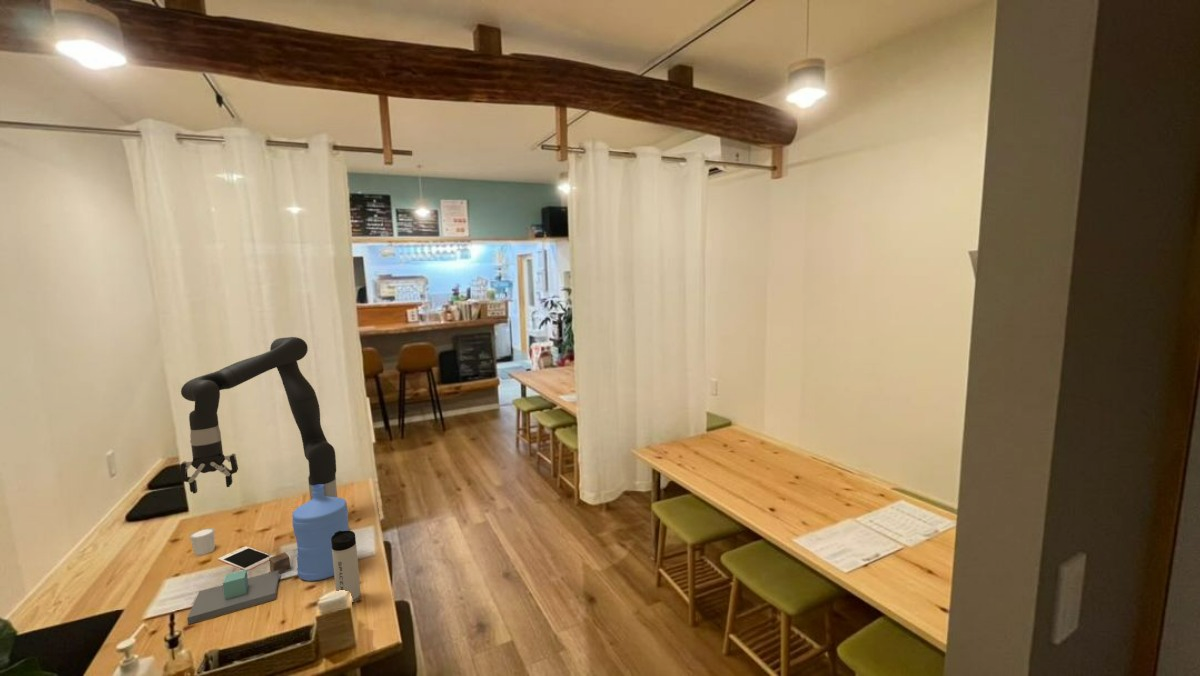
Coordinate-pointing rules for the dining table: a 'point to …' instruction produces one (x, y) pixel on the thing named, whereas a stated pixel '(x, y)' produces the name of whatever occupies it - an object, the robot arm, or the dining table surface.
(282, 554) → the walnut block
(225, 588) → the teal cube
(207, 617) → the slate board
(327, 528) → the water jug
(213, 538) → the white cylinder
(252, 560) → the cell phone
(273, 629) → the dining table surface
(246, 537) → the dining table surface
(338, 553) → the travel mug
